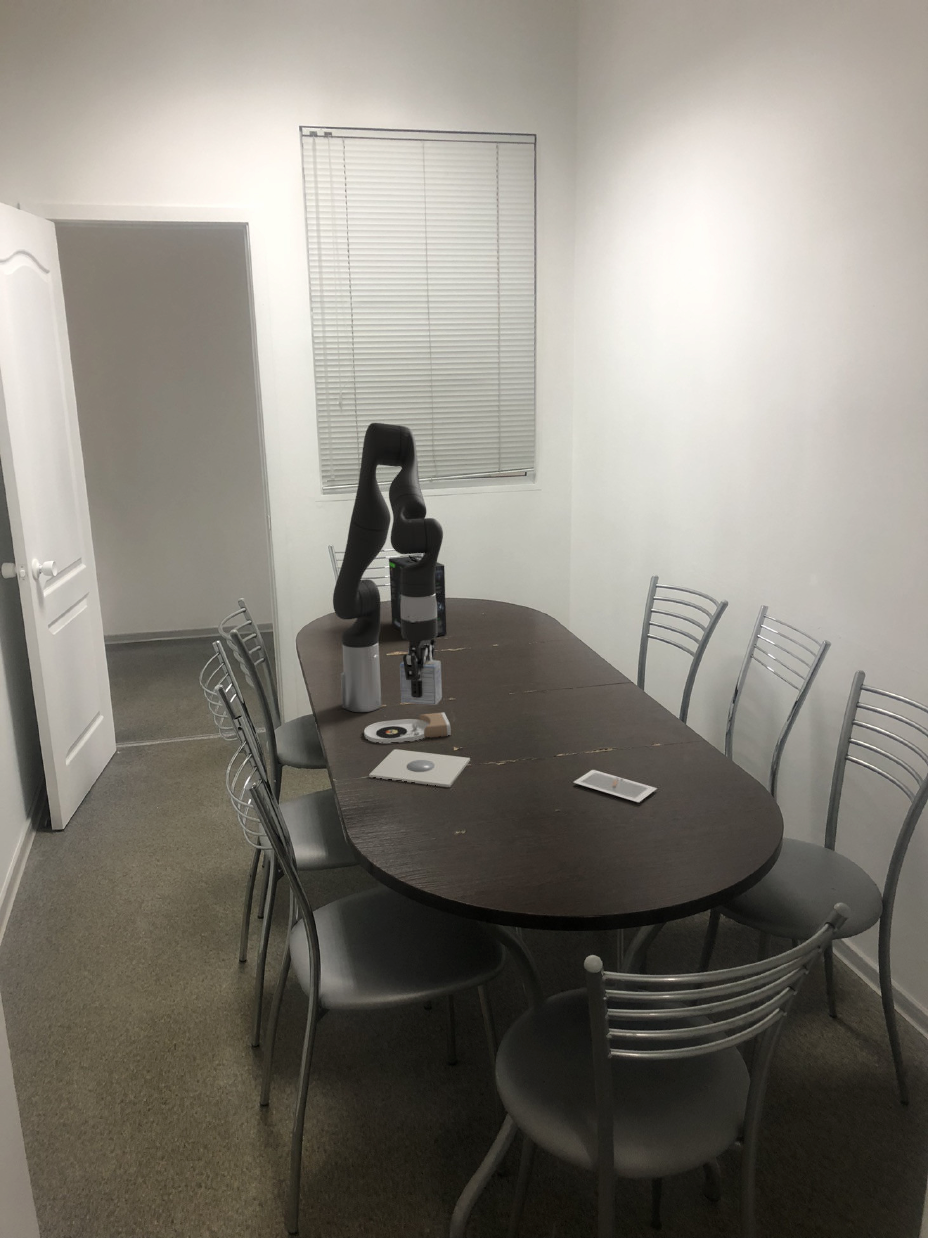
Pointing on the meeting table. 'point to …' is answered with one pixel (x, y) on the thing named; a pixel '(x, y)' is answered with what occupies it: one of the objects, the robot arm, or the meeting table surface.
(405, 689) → the medicine box
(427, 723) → the record player
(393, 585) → the headset box
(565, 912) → the meeting table surface
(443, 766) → the white pad
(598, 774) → the touchpad
